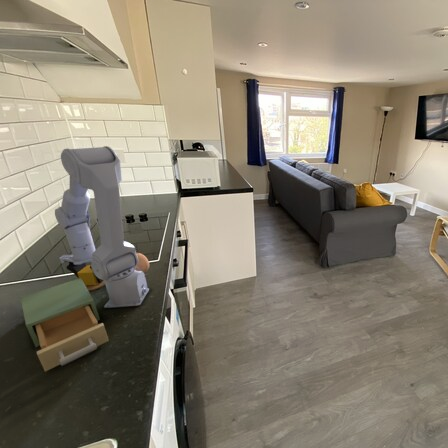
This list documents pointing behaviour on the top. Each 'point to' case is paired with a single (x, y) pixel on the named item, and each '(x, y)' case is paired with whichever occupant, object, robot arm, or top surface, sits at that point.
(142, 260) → the egg
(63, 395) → the top surface
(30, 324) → the cabinet
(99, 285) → the coaster
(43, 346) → the drawer
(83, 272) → the orange block
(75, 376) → the top surface
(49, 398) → the top surface
